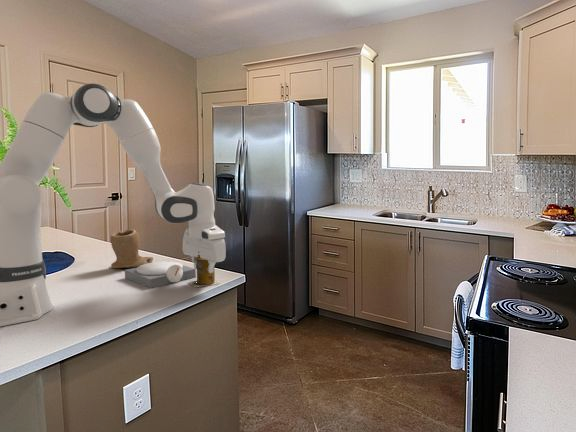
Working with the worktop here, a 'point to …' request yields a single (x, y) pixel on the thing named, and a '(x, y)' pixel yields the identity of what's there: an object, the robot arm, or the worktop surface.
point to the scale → (159, 273)
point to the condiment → (203, 274)
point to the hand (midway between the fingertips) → (203, 270)
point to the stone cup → (127, 250)
